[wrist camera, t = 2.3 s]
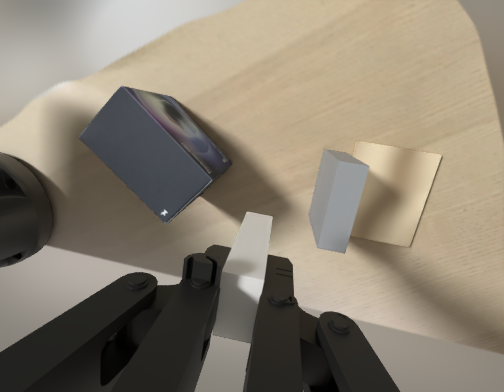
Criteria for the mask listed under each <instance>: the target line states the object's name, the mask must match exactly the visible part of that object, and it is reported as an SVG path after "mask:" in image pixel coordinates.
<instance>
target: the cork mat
mask: <svg viewBox="0 0 504 392" xmlns="http://www.w3.org/2000/svg"><path fill="white" fill-rule="evenodd" d="M352 156H353V157H355V158H356V159H358V160H360V161H362V162H363V163H365V164H367V165H369V166H370V167H369V170H368V174H367V177H366V181H365V185H364V188H363V192H362V195H361V199H360V202H359V206H358V209H357V213H356V216H355V220H354V224H353V227H352V231H351V234H350V236H352V237H358V238H363V239H368V240H373V241H379V242H384V243H389V244H395V245H400V246H405V247H410V244H411V242H412V239H413V236H414V233H415V230H416V227H417V224H418V222H419V219H420V216H421V213H422V210H423V207H424V205H425V202H426V199H427V196H428V193H429V190H430V188H431V185H432V182H433V179H434V176H435V173H436V170H437V168H438V165H439V162H440V159H441V156H442V155H439V154H433V153H428V152H422V151H416V150H410V149H404V148H398V147H392V146H386V145H380V144H374V143H369V142H363V141H357V140H356V144H355V148H354V152H353V155H352Z"/></svg>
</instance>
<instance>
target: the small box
mask: <svg viewBox="0 0 504 392" xmlns="http://www.w3.org/2000/svg"><path fill="white" fill-rule="evenodd" d="M79 139H80V140H82V141H83V142H84V143H85V144H86V145H87V147H88V148H89V149H90V150H91V151H92V152H93V153H94V154H96V155H97V156H98V157H99V158H100V159H101V160H102V161H103V162H104V163H105V165H107V166H108V167H109V168H110V169H111V170H112V171H113V172H114V173H115V174H116V175H117V176H118V177H119V178H120V179H121V180H122V181H123V182H124V183H125V184H126V185H127V186H128V187H129V188H130V189H131V190H132V191H133V192H134V193H135V194H136V195H137V196H138V197H139V198H140V199H141V200H142V201H143V202H144V203H145V204H146V205H147V206H148V207H149V208H150V209H151V210H152V211H153V212H154V213H155V214H156V215H157V216H158V217H159V218H160V219H161V220H162V221H163V222H164V223H165V224H168V223H169V222H170V221H171V220H172V219H173V218H174V217H176V216H177V215H178V214H179V213H180V212H181V211H183V210H184V209H185V208H186V207H187V206H188V205H189V204H191V203H192V202H193V201H194V200H195V199H196V198H197V197H199V196H201V194H203V192H204V191H205V190H206V189H207V188H208V187H210V185H211V184H212V183H213V182H214V181H215V180H216V179H218V177H219V176H221V175H222V174H224V172H225V171H226V170H227V169H228V168H229V167H230V166H231V165H232V161H231V160H230V159H229V158H228V157H227V156H226V155H225V154H224V153H223V152H222V150H221V149H220V148H219V147H218V146H217V145H216V144H215V143H214V142H213V141H212V140H211V139H210V138H209V136H208V135H207V134H206V133H205V132H204V131H203V130H202V129H201V128H200V127H199V126H198V125H197V123H196V122H195V121H194V120H193V119H192V118H191V117H190V116H189V115H188V114H187V113H186V112H185V111H184V109H183V108H182V107H181V106H180V105H179V104H178V103H177V102H176V101H175V100H174V99H173V98H172V97H171V96H167V95H162V94H157V93H152V92H147V91H143V90H138V89H134V88H129V87H125V86H121V87H120V88H119V89H118V90H117V91H116V92H115V93H114V94H113V96H112V97H111V98H110V99H109V101H108V102H107V103H106V104H105V105H104V107H103V108H102V109H101V110H100V111H99V113H98V114H97V115H96V116H95V117H94V119H93V120H92V121H91V122H90V124H89V125H88V126H87V127H86V128H85V130H84V131H83V132H82V133H81V135H80V136H79Z"/></svg>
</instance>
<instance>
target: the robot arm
mask: <svg viewBox="0 0 504 392" xmlns="http://www.w3.org/2000/svg"><path fill="white" fill-rule="evenodd" d="M272 220H273V216H268V215H263V214H258V213H252V212H247V213H246V215H245V217H244V220H243V222H242V225H241V227H240V229H239V232H238V234H237V236H236V239H235V241H234V244H233V246H232V248H229V247H224V246H219V245H215V244H214V245H213V246H211V247H209V248H207V250H206V252H205V253H196V254H191V255H188V256H187V257H186V258H184V266H183V275H182V280H181V282H180V283H179V284H176V285H157V282H158V281H157V279H156V277H154V276H153V275H151V274H148V273H143V272H135V273H131V274H127V275H125V276H122V277H121V278H119V279H117V280H116V281H114V282H113V283H111V284H110V285H108V286H106V287H105V288H103V289H101V290H100V291H98V292H96V293H95V294H93V295H92V296H90V297H89V298H87V299H85V300H84V301H82V302H80V303H79V304H77V305H76V306H74V307H73V308H71V309H69V310H68V311H66V312H64V313H63V314H62V315H59V316H58V317H56V318H55V319H53V320H51V321H50V322H48V323H47V324H45V325H43V326H42V327H40V328H39V329H37V330H35V331H34V332H32V333H31V334H29V335H27V336H26V337H24V338H23V339H21V340H19V341H18V342H16V343H15V344H13V345H11V346H10V347H8V348H6V349H5V350H3V351H2V352H0V392H194V390H195V388H196V385H197V382H198V378H199V376H200V372H201V370H202V366H203V364H204V361H205V358H206V355H207V351H208V349H209V345H210V338H211V333H212V330H213V335H215V336H220V337H224V338H229V339H233V340H238V341H242V342H246V343H251V347H250V352H249V357H248V362H247V368H246V376H245V382H244V388H243V392H303V391H304V392H400V391H399V389H398V387H397V386H396V384H395V383H394V381H393V380H392V378H391V377H390V375H389V373H388V372H387V371H386V369H385V367H384V366H383V364H382V363H381V361H380V359H379V358H378V356H377V355H376V353H375V352H374V350H373V349H372V347H371V345H370V344H369V342H368V341H367V339H366V338H365V336H364V335H363V333H362V331H361V330H360V328H359V327H358V325H357V324H356V323H355V322H354V321H353V320H352V319H350V318H349V317H347V316H345V315H343V314H341V313H338V312H332V311H330V312H324V313H322V314H321V315H320V317H319V318H317V317H314V316H312V315H310V314H308V313H306V312H305V311H303V310H302V309H301V308H300V307H299V306H298V302H297V299H296V298H295V297H294V286H293V265H292V263H291V262H290V261H289V259H288V258H283V257H278V256H273V255H268V249H269V242H270V234H271V227H272ZM51 229H52V211H51V206H50V203H49V200H48V197H47V195H46V193H45V191H44V189H43V187H42V185H41V184H40V182H39V181H38V180H37V178H36V177H35V176H34V175H33V174H32V173H31V171H30V170H29V169H27V168H26V167H25V166H24V165H23V164H21V163H20V162H19V161H17V160H16V159H14V158H12V157H10V156H8V155H6V154H4V153H1V152H0V267H5V266H10V265H13V264H16V263H18V262H21V261H23V260H24V259H26V258H28V257H30V256H32V255H34V254H35V253H37V252H38V251H39V250H41V249H42V248H43V246H44V245H45V244H46V242H47V240H48V238H49V236H50V233H51ZM213 327H214V328H213Z"/></svg>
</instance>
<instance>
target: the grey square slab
mask: <svg viewBox="0 0 504 392" xmlns="http://www.w3.org/2000/svg"><path fill="white" fill-rule="evenodd" d="M369 167H370V166H369V165H367V164H365V163H363V162H362V161H360V160H358V159H356V158H355V157H353V156H351V155H349V154H347V153H345V152H339V151H333V150H327V149H324V150H323V154H322V159H321V163H320V167H319V172H318V176H317V180H316V185H315V189H314V193H313V198H312V202H311V206H310V211H309V219H310V223H311V226H312V230H313V234H314V238H315V242H316V245H317V248H319V249H324V250H329V251H335V252H340V253H345V252H346V248H347V245H348V241H349V238H350V234H351V231H352V227H353V224H354V220H355V216H356V213H357V209H358V206H359V202H360V199H361V195H362V192H363V188H364V185H365V181H366V177H367V174H368V170H369Z"/></svg>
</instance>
